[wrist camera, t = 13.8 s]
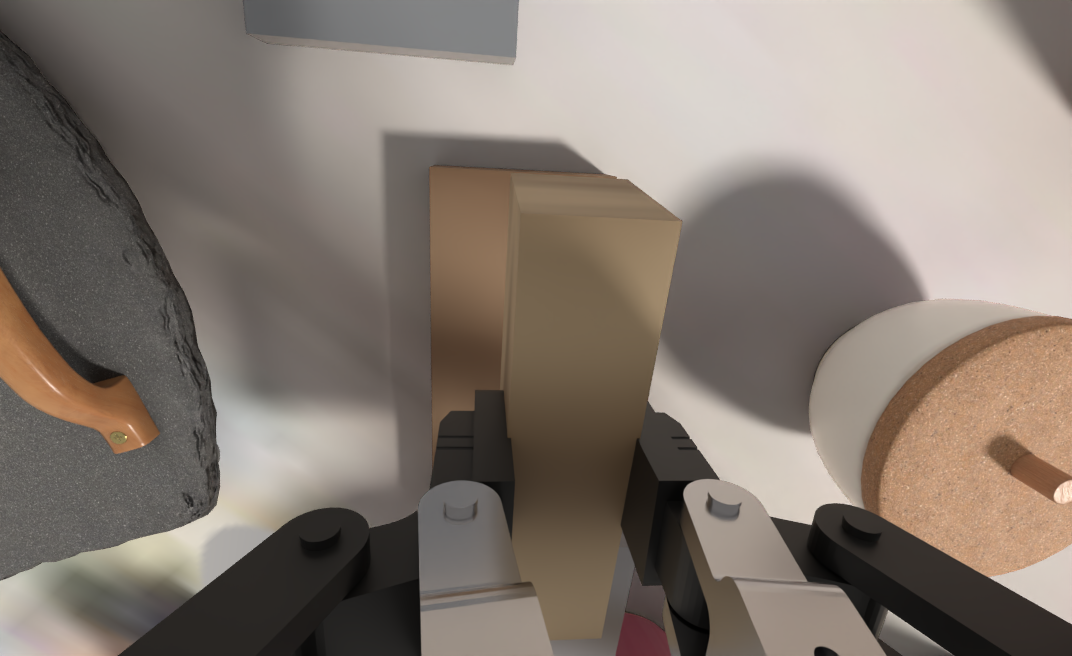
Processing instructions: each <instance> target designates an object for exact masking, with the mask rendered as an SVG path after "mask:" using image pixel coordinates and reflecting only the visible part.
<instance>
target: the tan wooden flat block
mask: <svg viewBox="0 0 1072 656" xmlns="http://www.w3.org/2000/svg"><path fill="white" fill-rule="evenodd" d="M511 173H525V174H542V175H559V176H576V177H593V178H610V179H617V177H615V176H611V175H606V174H590V173H571V172H553V171H534V170H515V169H496V168H478V167H459V166H440V165H433V166H431V167H429V184H430V282H431V380H432V471H433V464H434V457H435V451H436V444H437V438H438V431H439V425H440V421H441V420H442V419H443V418H444V417H445V416H446V415H447V414H448V413H449V412H450V411H474V407H475V390H500V379H501V358H502V338H503V318H504V297H505V277H506V257H507V237H508V216H509V196H510V176H511Z"/></svg>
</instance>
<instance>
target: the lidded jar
mask: <svg viewBox="0 0 1072 656" xmlns="http://www.w3.org/2000/svg"><path fill="white" fill-rule="evenodd" d="M809 420H810V430H811V433H812V437H813V440H814V444H815V447H816V450H817V453H818V455H819V457H820V459H821V460H822V462H823V464H824V466H825V468H826V469H827V471H828V473H829V475H830V476H831V478H832V480H833V481H834V482H835V483H836V485H837V486H838V487H839V489H840V490H841V491H842V493H843V494H844V495H845V496H846V497H847V499H848V500H849V501H850V502H851V503H852V505H853V506H855V507H859V508H862V509H865V510H867V511H870V512H872V513H874V514H876V515H878V516H880V517H882V518H884V519H886V520H887V521H889V522H891V523H893V524H894V525H896V526H898V527H900V528H901V529H903V530H905V531H907V532H909V533H910V534H912V535H914V536H916V537H917V538H919V539H921V540H923V541H925V542H926V543H928V544H930V545H932V546H933V547H935V548H937V549H939V550H941V551H942V552H944V553H946V554H948V555H949V556H951V557H953V558H955V559H956V560H958V561H960V562H962V563H964V564H965V565H967V566H969V567H971V568H972V569H974V570H976V571H978V572H980V573H981V574H983V575H985V576H987V577H990V576H996V575H1001V574H1005V573H1009V572H1012V571H1016V570H1020V569H1023V568H1025V567H1028V566H1030V565H1032V564H1035V563H1037V562H1039V561H1042V560H1044V559H1046V558H1048V557H1050V556H1051V555H1053V554H1055V553H1057V552H1059V551H1061V550H1063V549H1064V548H1066V547H1067V546H1069V545H1070V544H1072V319H1069V318H1064V317H1059V316H1050V315H1047V314H1044V313H1040V312H1036V311H1032V310H1028V309H1024V308H1020V307H1015V306H1010V305H1005V304H1000V303H993V302H987V301H981V300H965V299H935V300H926V301H919V302H911V303H908V304H904V305H901V306H897V307H894V308H891V309H888V310H885V311H883V312H881V313H878V314H876V315H874V316H872V317H870V318H868V319H867V320H865V321H863V322H862V323H860V324H858V325H857V326H856V327H854V328H852V329H850V330H849V331H847V332H846V333H844V334H843V335H842V336H841V337H839V338H838V339H837V340H836V341H835V342H834V343H833V344H832V345H831V346H830V348H829V349H828V350H827V351H826V353H825V354H824V356H823V358H822V359H821V361H820V363H819V365H818V368H817V370H816V373H815V378H814V382H813V386H812V390H811V394H810V401H809Z"/></svg>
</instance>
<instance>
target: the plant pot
mask: <svg viewBox="0 0 1072 656" xmlns="http://www.w3.org/2000/svg"><path fill="white" fill-rule="evenodd" d="M615 656H671V653H670V649H669V645H668V640H667V636H666V633H665V631H663V630H662V629H661V628H660V627H659V626H658V625H656V624H655V623H653V622H652V621H650V620H648V619H646V618H644V617H641V616H638V615H635V614H631V613H625V614H624V618H623V623H622V627H621V632H620V637H619V641H618V646H617V650H616V655H615Z"/></svg>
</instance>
